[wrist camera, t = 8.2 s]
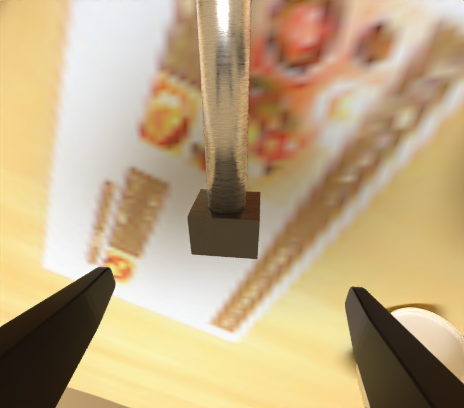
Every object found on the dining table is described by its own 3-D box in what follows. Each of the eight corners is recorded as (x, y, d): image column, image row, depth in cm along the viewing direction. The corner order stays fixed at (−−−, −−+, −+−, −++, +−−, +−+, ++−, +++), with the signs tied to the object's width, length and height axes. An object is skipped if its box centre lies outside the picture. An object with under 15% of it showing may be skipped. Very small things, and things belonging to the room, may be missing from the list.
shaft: (258, 226, 15) (257, 259, 13) (203, 223, 16) (191, 254, 13) (298, -445, 6) (326, -847, 3) (156, -418, 6) (80, -763, 4)
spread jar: (375, 377, 32) (427, 523, 22) (320, 334, 29) (351, 481, 19) (478, 345, 27) (608, 515, 17) (424, 288, 24) (544, 455, 14)
